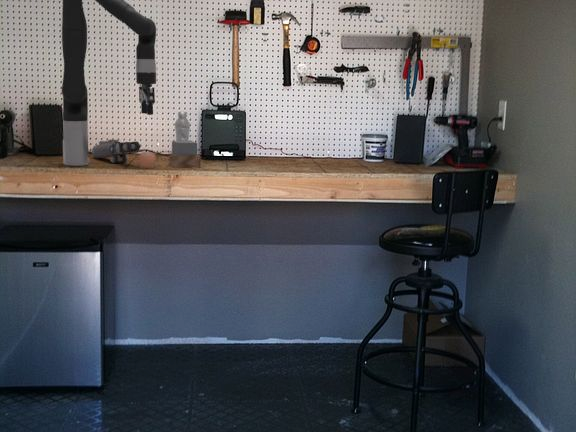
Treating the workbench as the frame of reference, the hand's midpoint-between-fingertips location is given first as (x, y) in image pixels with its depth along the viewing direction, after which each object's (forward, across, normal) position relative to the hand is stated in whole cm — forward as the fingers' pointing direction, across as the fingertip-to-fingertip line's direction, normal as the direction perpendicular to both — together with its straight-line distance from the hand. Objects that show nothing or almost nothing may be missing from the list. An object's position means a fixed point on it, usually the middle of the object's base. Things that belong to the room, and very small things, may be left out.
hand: (147, 114), depth 294 cm
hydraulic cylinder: (+21, -20, -9) cm, 30 cm away
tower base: (+21, 0, +14) cm, 26 cm away
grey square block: (+16, 0, +14) cm, 22 cm away
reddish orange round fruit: (+21, 0, 0) cm, 21 cm away
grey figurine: (+21, -22, +21) cm, 37 cm away
